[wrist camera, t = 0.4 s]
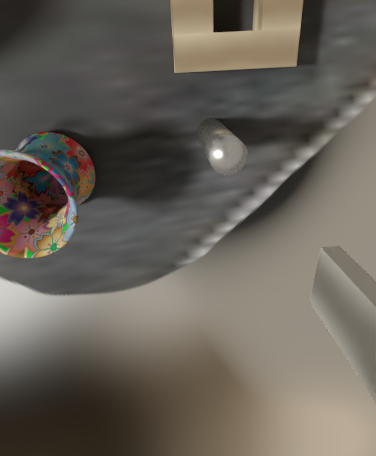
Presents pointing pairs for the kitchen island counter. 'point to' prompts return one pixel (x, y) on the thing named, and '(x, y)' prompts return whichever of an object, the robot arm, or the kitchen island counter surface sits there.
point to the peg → (221, 147)
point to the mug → (42, 193)
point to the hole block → (235, 37)
